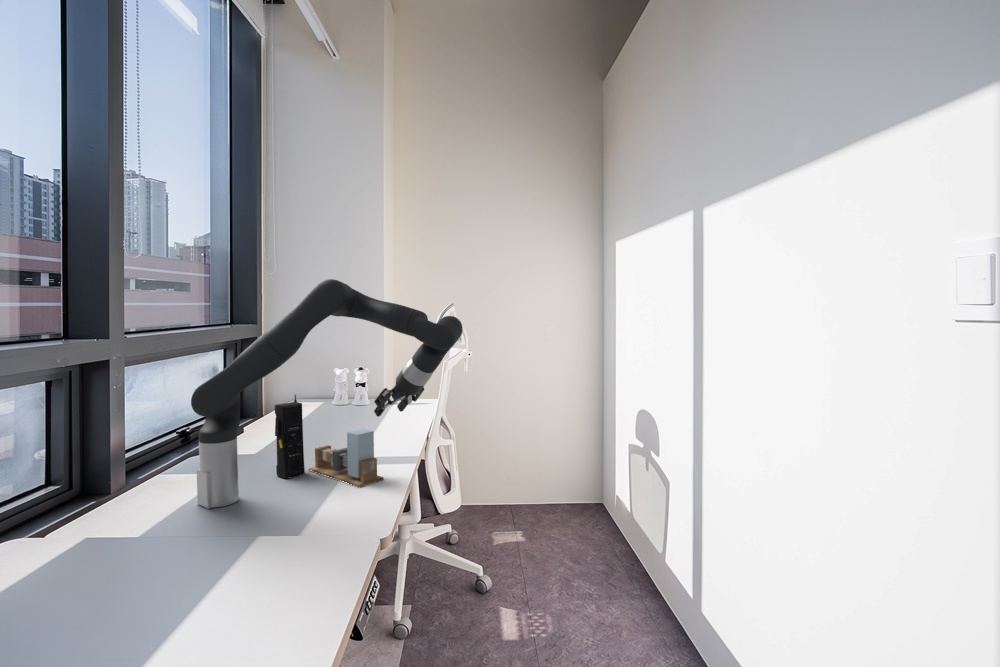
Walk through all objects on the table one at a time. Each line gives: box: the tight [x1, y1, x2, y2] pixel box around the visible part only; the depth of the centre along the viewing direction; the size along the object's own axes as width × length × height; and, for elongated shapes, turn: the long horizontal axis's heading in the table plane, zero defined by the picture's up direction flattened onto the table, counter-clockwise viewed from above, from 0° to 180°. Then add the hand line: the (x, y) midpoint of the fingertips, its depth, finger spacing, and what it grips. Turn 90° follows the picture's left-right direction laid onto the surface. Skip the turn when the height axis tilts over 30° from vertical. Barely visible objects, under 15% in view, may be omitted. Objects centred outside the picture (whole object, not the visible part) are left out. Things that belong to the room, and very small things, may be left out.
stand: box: [308, 444, 384, 488], centre depth 170 cm, size 26×9×7 cm, turn 52°
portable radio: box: [274, 394, 306, 480], centre depth 169 cm, size 8×6×25 cm
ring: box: [333, 447, 348, 471], centre depth 171 cm, size 2×6×6 cm, turn 142°
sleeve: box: [346, 428, 375, 478], centre depth 165 cm, size 5×6×13 cm
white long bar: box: [320, 448, 374, 473], centre depth 170 cm, size 25×3×3 cm, turn 52°
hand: (388, 411), depth 155 cm, fingers open, 8 cm apart
